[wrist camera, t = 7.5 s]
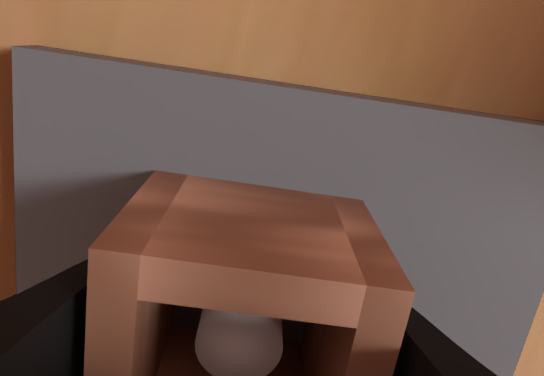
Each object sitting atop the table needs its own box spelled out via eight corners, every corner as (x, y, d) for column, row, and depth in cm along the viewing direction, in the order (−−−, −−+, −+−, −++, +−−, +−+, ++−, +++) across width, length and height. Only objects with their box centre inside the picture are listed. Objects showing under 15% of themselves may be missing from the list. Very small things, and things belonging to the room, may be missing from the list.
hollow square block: (362, 199, 12) (415, 292, 8) (324, 370, 13) (350, 527, 9) (155, 170, 12) (88, 248, 7) (141, 347, 13) (79, 498, 9)
